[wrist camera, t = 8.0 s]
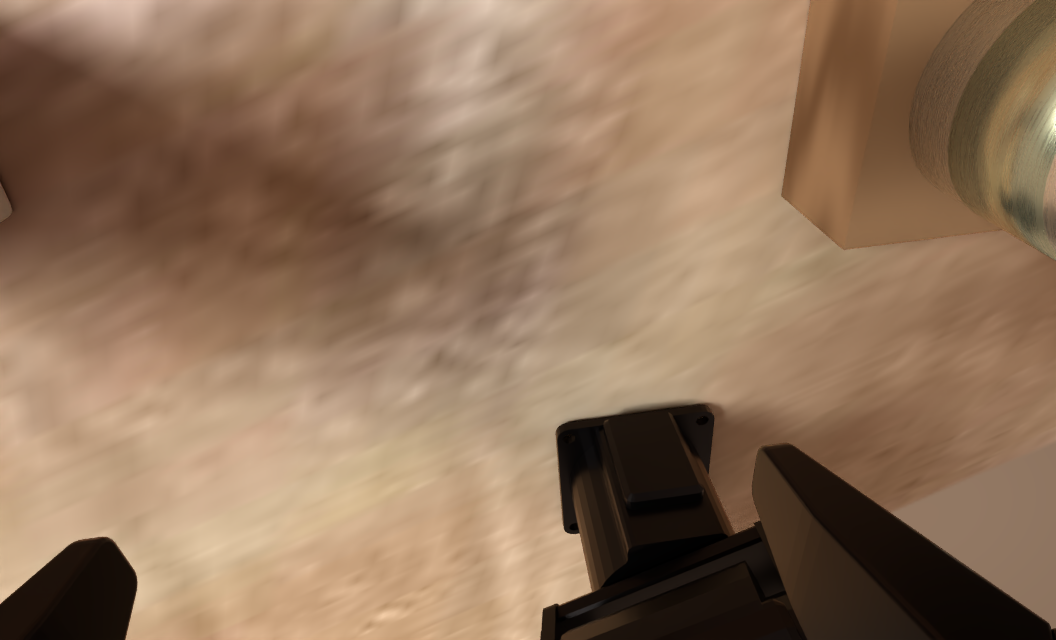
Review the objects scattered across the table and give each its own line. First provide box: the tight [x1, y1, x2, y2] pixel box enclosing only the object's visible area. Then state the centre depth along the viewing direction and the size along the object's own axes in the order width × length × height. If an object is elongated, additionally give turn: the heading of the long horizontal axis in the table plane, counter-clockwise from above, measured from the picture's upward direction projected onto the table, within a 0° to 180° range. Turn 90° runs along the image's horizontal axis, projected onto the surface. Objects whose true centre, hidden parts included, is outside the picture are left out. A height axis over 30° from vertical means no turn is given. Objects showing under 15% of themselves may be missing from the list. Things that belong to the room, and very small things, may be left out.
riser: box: [782, 0, 1002, 250], centre depth 17 cm, size 8×8×4 cm
